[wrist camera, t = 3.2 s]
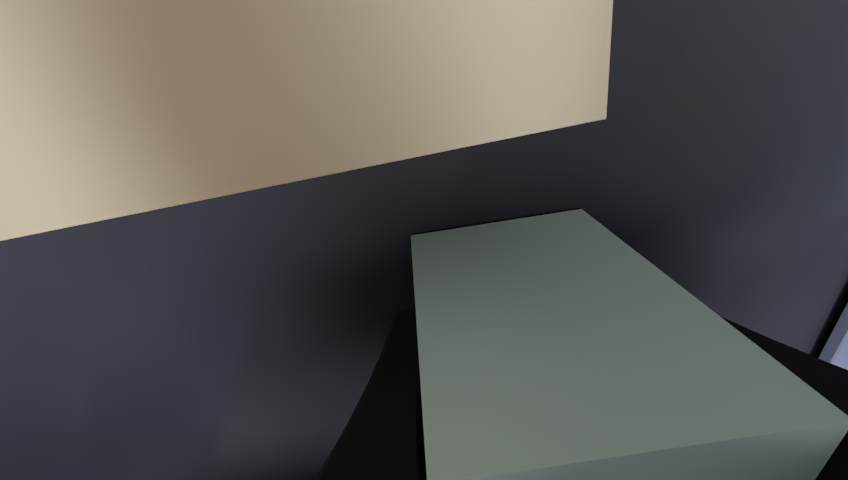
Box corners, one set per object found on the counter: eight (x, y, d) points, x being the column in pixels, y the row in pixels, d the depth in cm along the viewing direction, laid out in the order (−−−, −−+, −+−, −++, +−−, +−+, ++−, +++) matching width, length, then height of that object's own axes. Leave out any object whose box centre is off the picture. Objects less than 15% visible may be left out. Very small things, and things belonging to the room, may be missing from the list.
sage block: (581, 208, 9) (855, 420, 4) (571, 338, 11) (736, 596, 6) (410, 235, 9) (426, 485, 4) (432, 359, 11) (464, 636, 6)
